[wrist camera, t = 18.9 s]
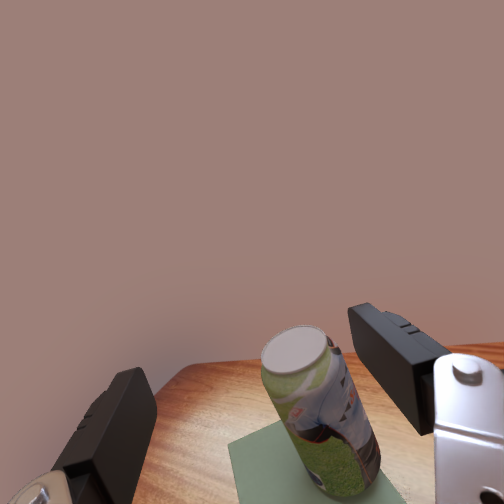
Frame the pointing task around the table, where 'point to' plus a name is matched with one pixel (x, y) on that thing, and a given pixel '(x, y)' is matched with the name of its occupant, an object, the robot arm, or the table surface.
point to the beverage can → (321, 409)
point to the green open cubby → (289, 474)
